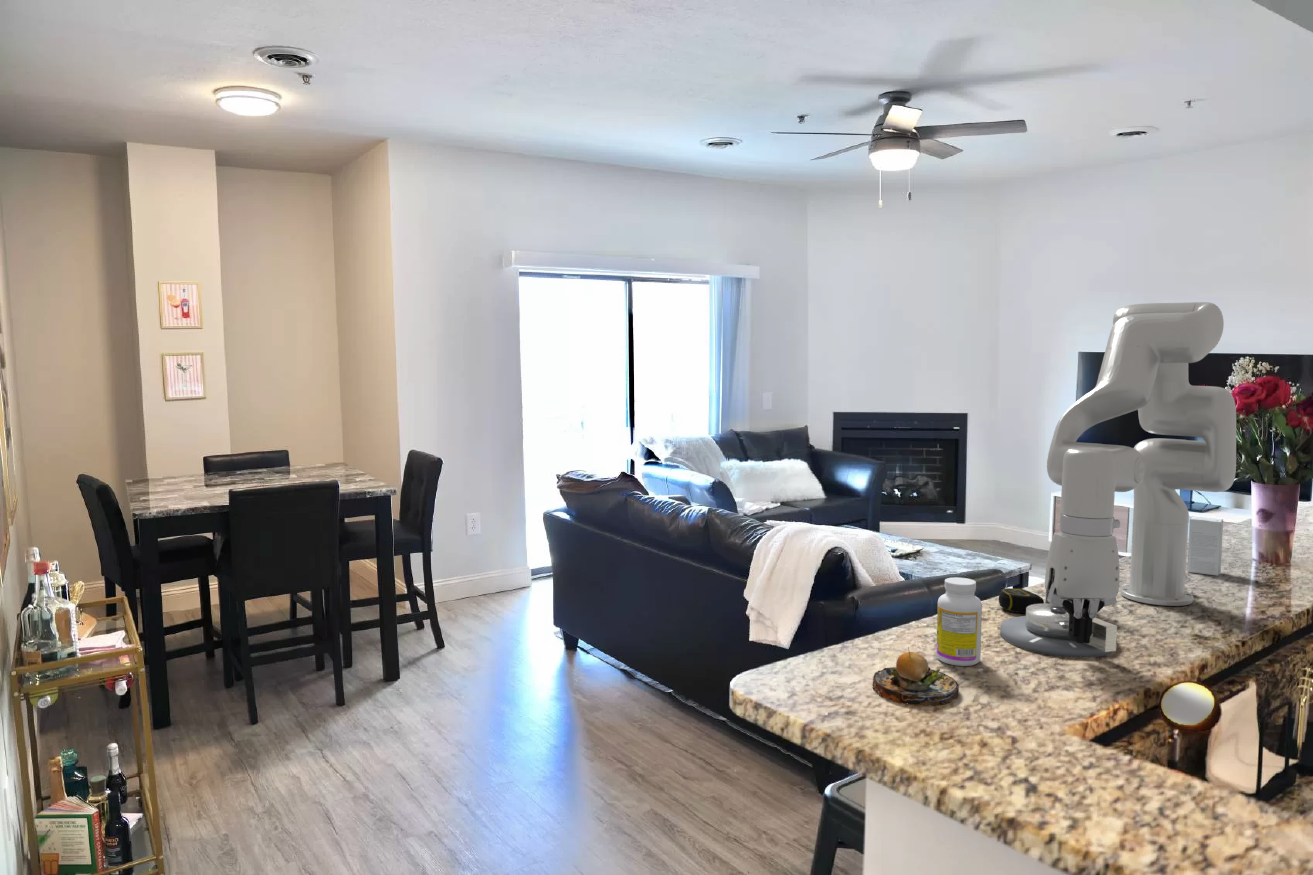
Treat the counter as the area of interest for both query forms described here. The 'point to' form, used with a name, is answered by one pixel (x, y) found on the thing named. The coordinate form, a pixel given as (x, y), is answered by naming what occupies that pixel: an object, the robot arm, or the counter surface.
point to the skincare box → (1205, 545)
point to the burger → (915, 682)
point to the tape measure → (1018, 599)
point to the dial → (1056, 625)
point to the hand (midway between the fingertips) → (1079, 640)
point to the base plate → (1045, 641)
